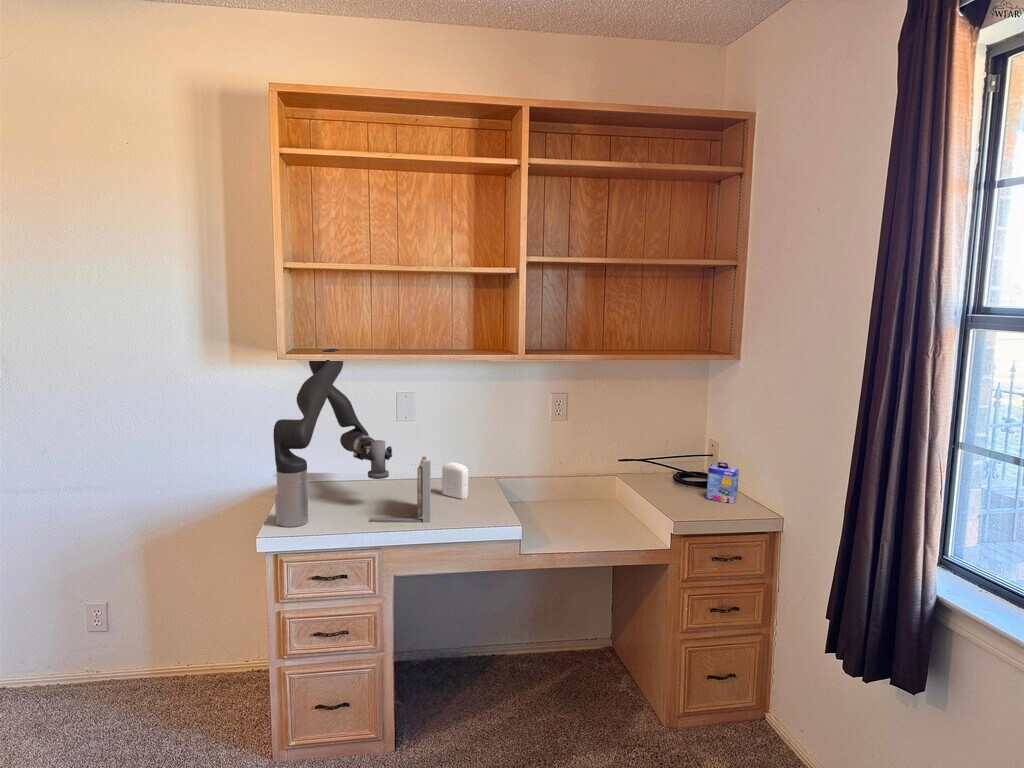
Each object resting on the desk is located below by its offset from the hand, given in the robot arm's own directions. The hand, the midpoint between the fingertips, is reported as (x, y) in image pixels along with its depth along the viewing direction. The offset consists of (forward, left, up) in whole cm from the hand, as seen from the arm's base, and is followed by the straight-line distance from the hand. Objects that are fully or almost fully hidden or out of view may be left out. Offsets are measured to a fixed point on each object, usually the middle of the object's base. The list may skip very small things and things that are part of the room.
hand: (380, 457), depth 235 cm
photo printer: (+24, +16, -18) cm, 34 cm away
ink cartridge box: (+121, +13, -18) cm, 123 cm away
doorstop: (-1, +2, -7) cm, 7 cm away
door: (+15, -5, -16) cm, 23 cm away
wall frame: (+8, -12, -18) cm, 23 cm away
